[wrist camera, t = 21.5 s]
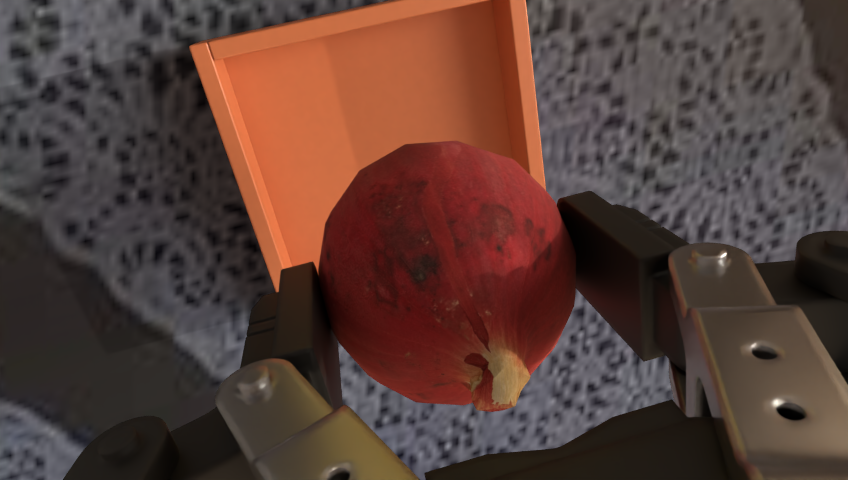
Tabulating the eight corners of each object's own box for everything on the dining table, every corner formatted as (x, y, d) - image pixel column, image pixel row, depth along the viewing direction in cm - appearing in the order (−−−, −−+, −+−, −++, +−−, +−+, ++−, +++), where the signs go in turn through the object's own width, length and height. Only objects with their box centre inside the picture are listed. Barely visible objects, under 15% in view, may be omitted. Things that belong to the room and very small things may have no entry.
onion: (275, 183, 15) (243, 350, 8) (457, 73, 15) (596, 140, 8) (383, 333, 18) (434, 563, 10) (542, 240, 17) (706, 409, 10)
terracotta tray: (292, 304, 25) (290, 334, 22) (202, 40, 20) (187, 45, 18) (532, 241, 26) (554, 264, 23) (500, -24, 21) (523, -27, 19)
